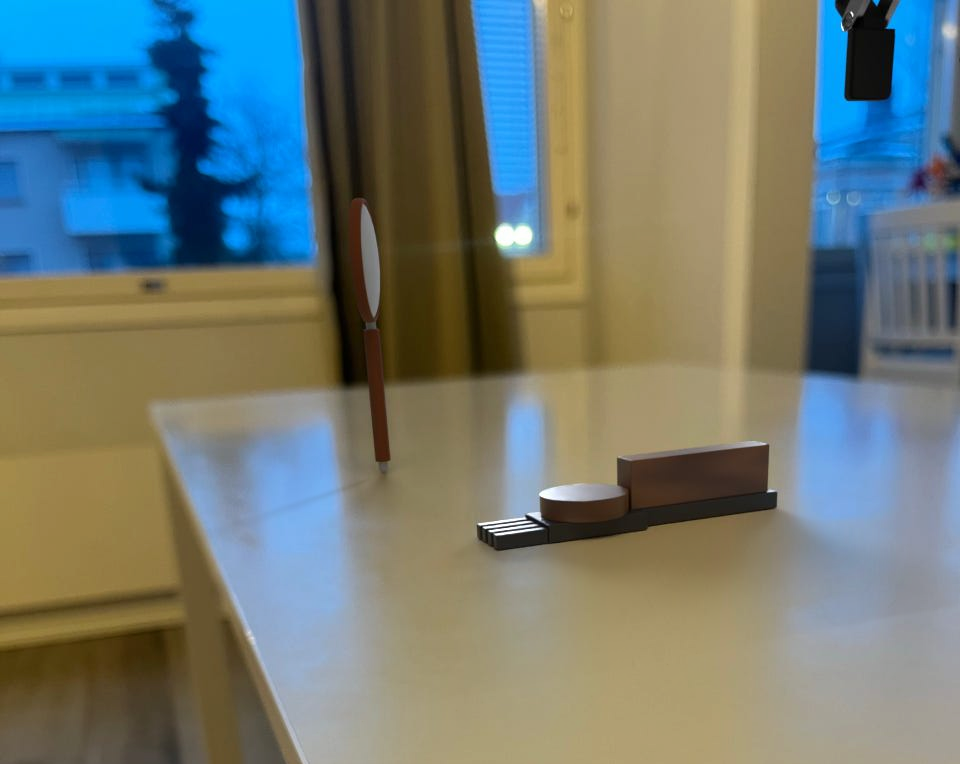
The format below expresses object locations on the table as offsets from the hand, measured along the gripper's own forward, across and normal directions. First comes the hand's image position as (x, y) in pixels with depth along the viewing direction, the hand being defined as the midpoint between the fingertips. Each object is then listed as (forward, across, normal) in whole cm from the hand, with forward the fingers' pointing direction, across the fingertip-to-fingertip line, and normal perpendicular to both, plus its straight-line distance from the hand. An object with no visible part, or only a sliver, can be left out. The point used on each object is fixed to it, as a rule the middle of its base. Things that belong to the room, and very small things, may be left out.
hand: (922, 84), depth 59 cm
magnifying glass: (+24, +22, +30) cm, 44 cm away
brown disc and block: (+22, -4, +20) cm, 30 cm away
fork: (+23, -4, +21) cm, 32 cm away
